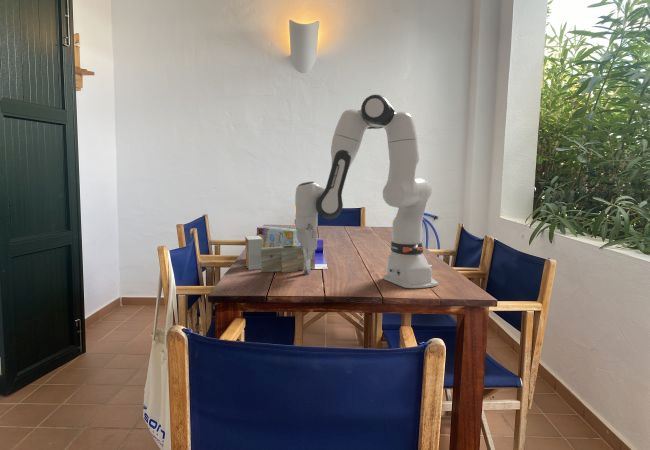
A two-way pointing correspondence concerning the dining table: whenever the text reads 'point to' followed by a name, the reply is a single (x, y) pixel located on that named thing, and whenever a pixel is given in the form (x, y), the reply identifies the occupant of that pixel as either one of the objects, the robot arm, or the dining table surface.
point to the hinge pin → (306, 262)
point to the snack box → (277, 236)
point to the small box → (253, 252)
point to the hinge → (284, 259)
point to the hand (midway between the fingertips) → (306, 256)
